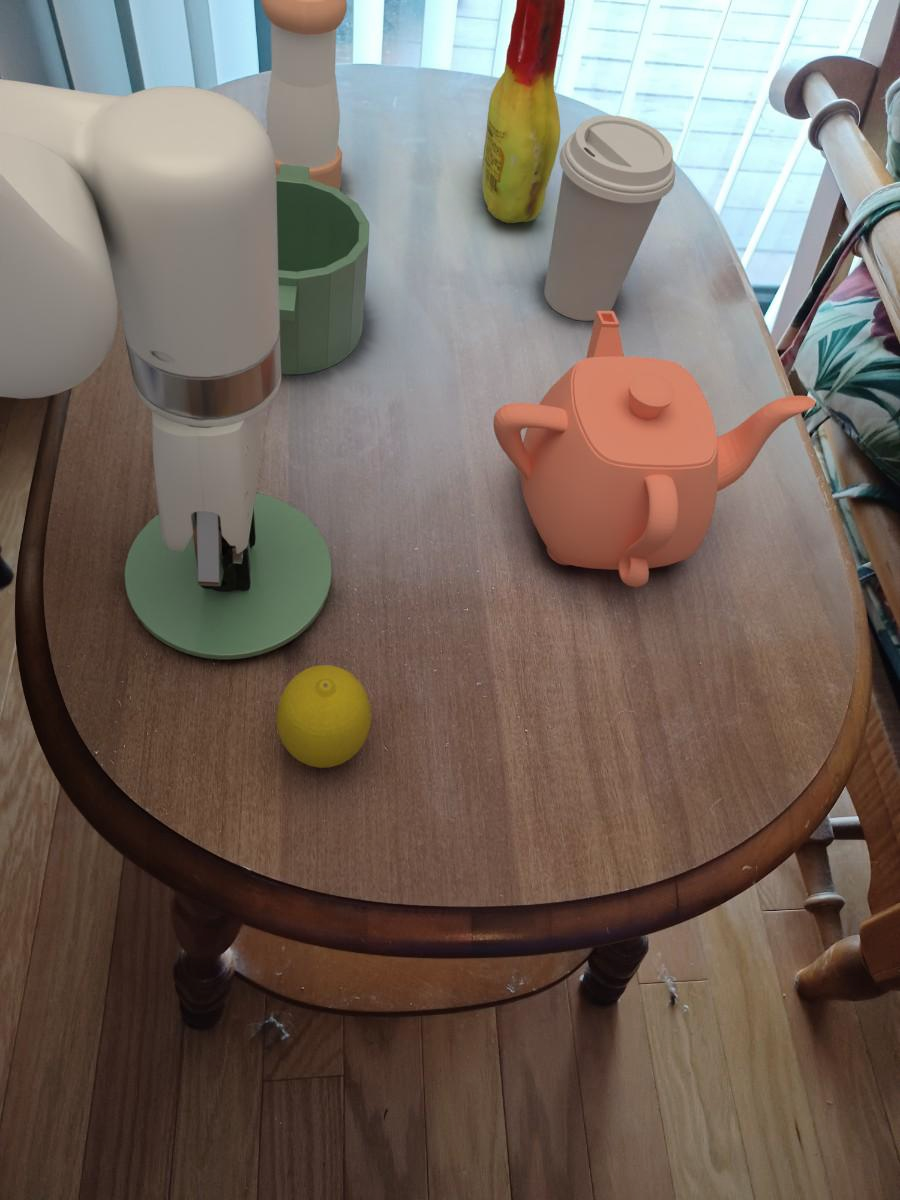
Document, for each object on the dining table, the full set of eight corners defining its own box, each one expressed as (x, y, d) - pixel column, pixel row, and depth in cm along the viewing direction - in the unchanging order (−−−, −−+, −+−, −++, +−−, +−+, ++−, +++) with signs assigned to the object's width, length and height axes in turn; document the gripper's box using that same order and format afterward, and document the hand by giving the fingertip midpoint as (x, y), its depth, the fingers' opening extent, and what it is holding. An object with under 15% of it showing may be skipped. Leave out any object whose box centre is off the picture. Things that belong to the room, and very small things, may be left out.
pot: (198, 391, 75) (186, 292, 67) (223, 248, 85) (216, 148, 77) (358, 404, 76) (365, 309, 68) (365, 262, 86) (371, 165, 79)
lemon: (264, 725, 60) (260, 661, 53) (345, 694, 62) (351, 629, 55) (298, 801, 57) (298, 744, 51) (381, 767, 59) (392, 707, 53)
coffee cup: (517, 264, 89) (552, 107, 77) (613, 264, 91) (662, 111, 79) (541, 333, 84) (582, 177, 72) (641, 331, 86) (699, 179, 74)
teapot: (568, 407, 79) (613, 272, 68) (746, 514, 75) (824, 390, 64) (457, 520, 71) (487, 387, 60) (649, 647, 67) (720, 531, 56)
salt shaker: (253, 168, 92) (243, -53, 76) (322, 157, 95) (327, -60, 79) (282, 212, 89) (279, -9, 73) (353, 199, 91) (364, -18, 76)
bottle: (468, 163, 97) (502, -56, 81) (528, 167, 98) (574, -48, 82) (481, 235, 91) (522, 14, 74) (546, 239, 92) (600, 21, 75)
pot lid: (110, 659, 60) (92, 606, 55) (144, 494, 68) (131, 434, 63) (326, 669, 62) (328, 618, 57) (335, 507, 69) (338, 449, 64)
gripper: (154, 246, 53) (187, 468, 68) (100, 469, 43) (152, 667, 59) (291, 259, 53) (294, 476, 69) (267, 480, 44) (275, 673, 60)
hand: (228, 562), depth 63 cm, fingers closed on pot lid, 2 cm apart
